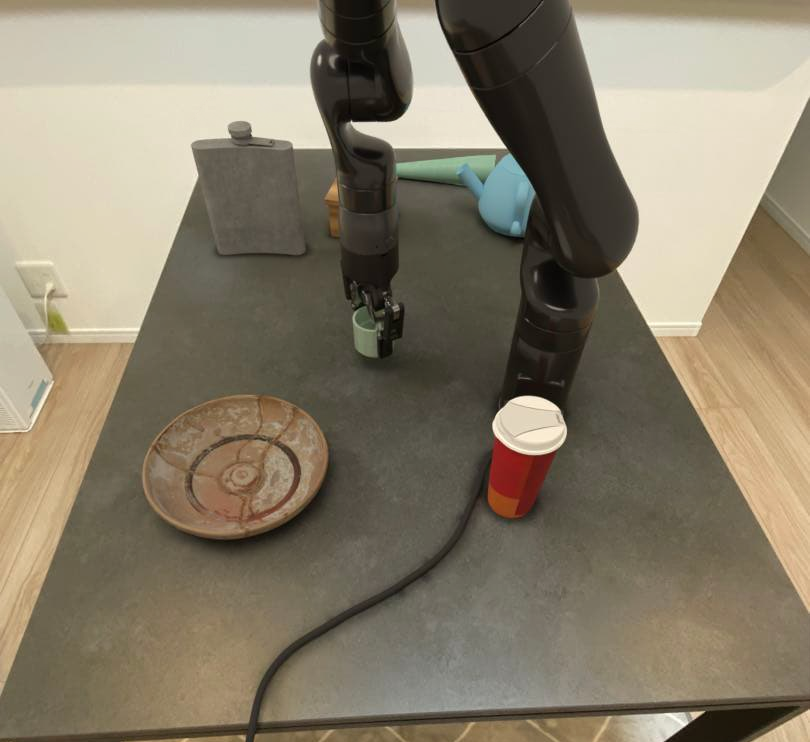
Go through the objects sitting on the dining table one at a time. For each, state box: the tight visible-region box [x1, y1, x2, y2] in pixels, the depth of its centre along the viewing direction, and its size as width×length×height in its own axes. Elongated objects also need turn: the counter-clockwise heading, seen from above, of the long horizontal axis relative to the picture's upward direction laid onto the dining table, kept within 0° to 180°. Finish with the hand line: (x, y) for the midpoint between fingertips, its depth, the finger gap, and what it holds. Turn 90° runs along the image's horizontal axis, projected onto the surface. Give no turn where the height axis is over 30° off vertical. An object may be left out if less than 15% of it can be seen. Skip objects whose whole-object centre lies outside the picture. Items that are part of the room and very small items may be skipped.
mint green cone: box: [396, 154, 497, 187], centre depth 122 cm, size 5×6×27 cm
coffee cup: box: [487, 396, 568, 519], centre depth 73 cm, size 8×8×15 cm
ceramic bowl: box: [141, 394, 329, 540], centre depth 78 cm, size 23×24×5 cm
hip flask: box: [190, 120, 307, 256], centre depth 101 cm, size 16×4×20 cm, turn 91°
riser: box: [323, 176, 399, 238], centre depth 111 cm, size 11×11×7 cm
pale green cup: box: [351, 306, 396, 359], centre depth 88 cm, size 6×6×5 cm
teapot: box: [456, 152, 535, 238], centre depth 111 cm, size 20×20×13 cm
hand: (374, 342), depth 90 cm, fingers closed on pale green cup, 6 cm apart
